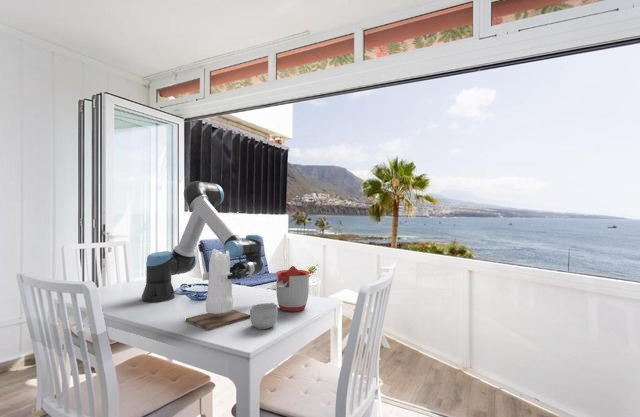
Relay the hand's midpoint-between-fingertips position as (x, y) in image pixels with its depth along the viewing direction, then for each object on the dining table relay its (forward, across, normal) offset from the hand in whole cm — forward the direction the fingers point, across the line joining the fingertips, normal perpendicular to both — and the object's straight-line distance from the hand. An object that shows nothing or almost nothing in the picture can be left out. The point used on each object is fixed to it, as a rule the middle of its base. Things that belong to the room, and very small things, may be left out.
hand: (212, 277), depth 133 cm
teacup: (-5, -21, -18) cm, 29 cm away
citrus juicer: (-30, -22, -18) cm, 41 cm away
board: (-5, 0, -18) cm, 19 cm away
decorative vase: (-5, 0, -14) cm, 15 cm away
